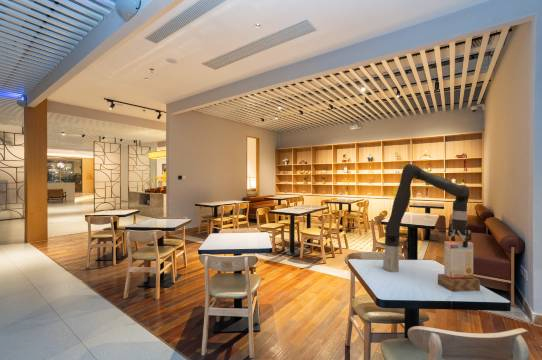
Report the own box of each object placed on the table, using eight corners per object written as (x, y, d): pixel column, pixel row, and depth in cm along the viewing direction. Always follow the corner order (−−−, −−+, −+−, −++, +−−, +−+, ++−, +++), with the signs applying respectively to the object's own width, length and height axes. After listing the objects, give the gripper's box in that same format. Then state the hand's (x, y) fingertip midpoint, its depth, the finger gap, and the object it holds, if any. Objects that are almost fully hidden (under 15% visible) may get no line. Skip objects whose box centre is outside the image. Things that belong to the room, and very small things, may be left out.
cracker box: (465, 275, 165) (466, 240, 165) (473, 278, 159) (474, 243, 159) (443, 275, 164) (444, 240, 164) (450, 278, 158) (451, 242, 158)
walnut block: (452, 291, 155) (452, 280, 155) (437, 284, 166) (437, 274, 166) (479, 290, 158) (479, 279, 158) (463, 282, 168) (463, 273, 168)
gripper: (444, 216, 168) (444, 243, 168) (464, 220, 154) (463, 248, 154) (455, 216, 169) (454, 242, 169) (475, 220, 155) (475, 248, 155)
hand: (459, 245), depth 162 cm, fingers open, 8 cm apart
